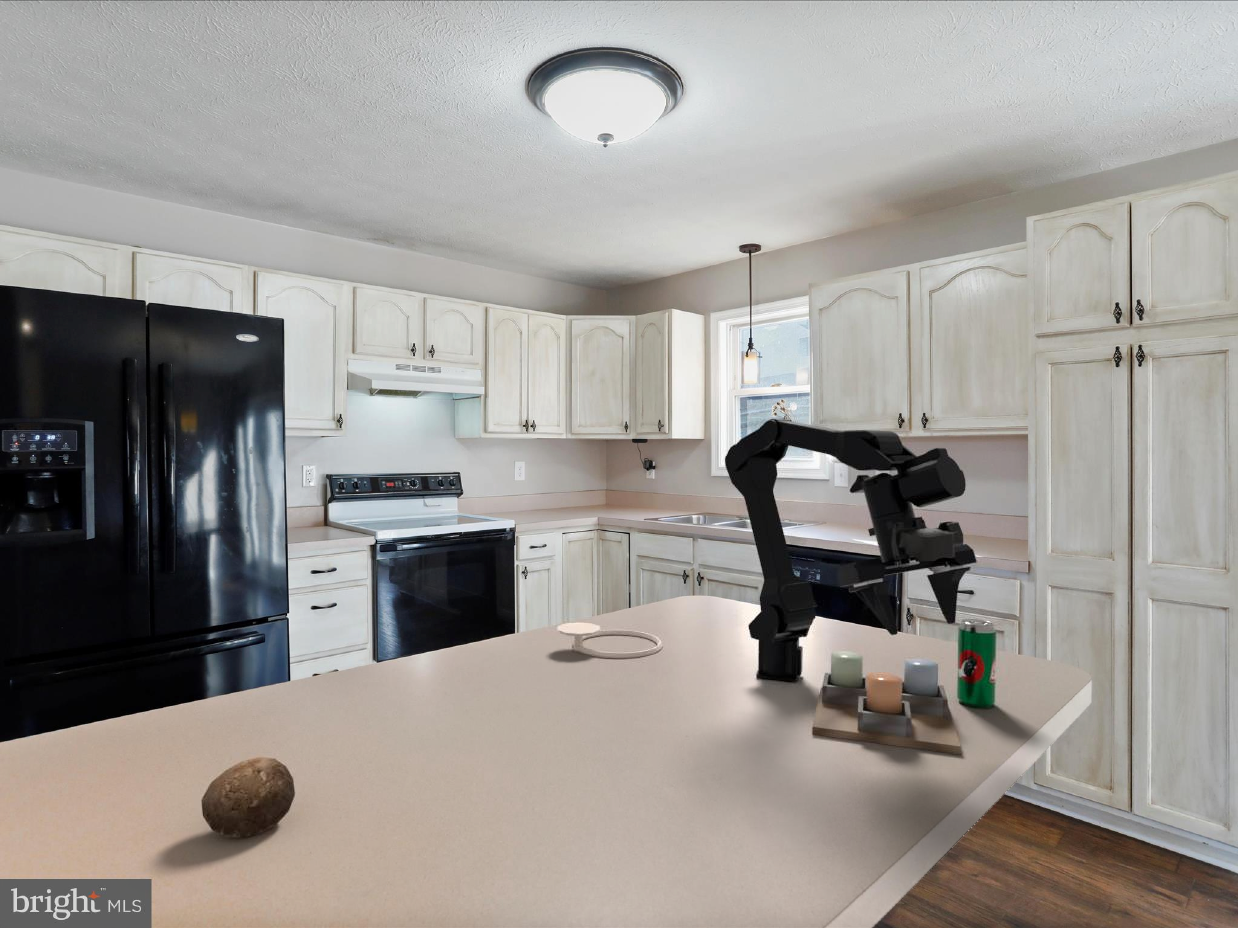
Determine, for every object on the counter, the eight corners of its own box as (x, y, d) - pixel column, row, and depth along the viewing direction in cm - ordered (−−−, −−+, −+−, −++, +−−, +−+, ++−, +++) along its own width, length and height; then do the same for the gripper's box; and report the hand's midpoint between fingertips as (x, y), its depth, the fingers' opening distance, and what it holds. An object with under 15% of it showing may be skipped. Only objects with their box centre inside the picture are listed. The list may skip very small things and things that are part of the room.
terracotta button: (866, 711, 93) (866, 681, 93) (866, 700, 97) (866, 671, 97) (902, 716, 91) (903, 685, 91) (901, 704, 95) (901, 674, 95)
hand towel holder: (679, 630, 131) (573, 641, 122) (678, 654, 131) (573, 667, 122) (638, 610, 146) (543, 619, 138) (638, 631, 146) (542, 641, 138)
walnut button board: (812, 734, 93) (812, 708, 93) (820, 693, 109) (821, 671, 109) (960, 754, 87) (961, 726, 87) (947, 708, 103) (947, 685, 103)
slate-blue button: (904, 694, 100) (905, 665, 99) (903, 684, 104) (903, 656, 104) (938, 697, 98) (939, 669, 98) (936, 688, 102) (936, 660, 102)
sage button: (829, 685, 103) (830, 658, 103) (831, 676, 107) (831, 650, 107) (862, 689, 101) (862, 661, 101) (862, 679, 106) (862, 653, 105)
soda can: (999, 710, 102) (1001, 627, 102) (961, 707, 103) (963, 625, 103) (989, 698, 107) (990, 619, 107) (952, 695, 108) (954, 617, 108)
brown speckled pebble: (231, 768, 75) (237, 733, 72) (303, 794, 76) (313, 760, 73) (181, 840, 68) (186, 804, 65) (261, 868, 69) (270, 834, 66)
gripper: (867, 511, 90) (900, 637, 86) (988, 494, 95) (1024, 612, 91) (822, 528, 100) (850, 641, 96) (933, 513, 105) (964, 619, 101)
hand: (923, 628), depth 96 cm, fingers open, 9 cm apart
